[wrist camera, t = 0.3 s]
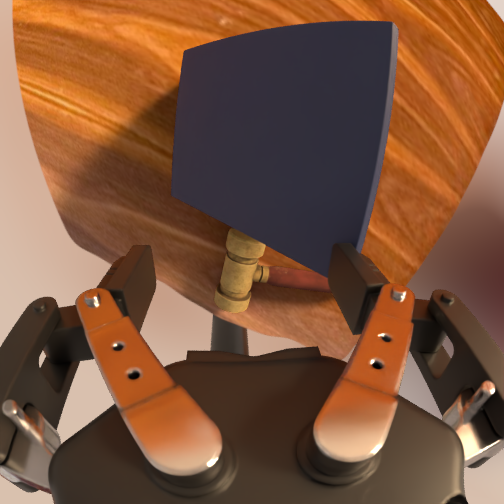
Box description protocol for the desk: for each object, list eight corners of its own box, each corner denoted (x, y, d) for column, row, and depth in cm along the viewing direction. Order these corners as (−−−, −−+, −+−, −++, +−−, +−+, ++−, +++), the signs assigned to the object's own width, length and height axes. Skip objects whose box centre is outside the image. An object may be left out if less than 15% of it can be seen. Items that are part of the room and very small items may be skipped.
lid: (399, 28, 8) (393, 21, 7) (352, 283, 13) (344, 288, 13) (191, 51, 18) (183, 50, 18) (178, 194, 24) (170, 195, 23)
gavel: (385, 266, 35) (356, 324, 39) (370, 250, 39) (345, 305, 43) (230, 238, 31) (213, 311, 35) (228, 223, 35) (213, 290, 39)
